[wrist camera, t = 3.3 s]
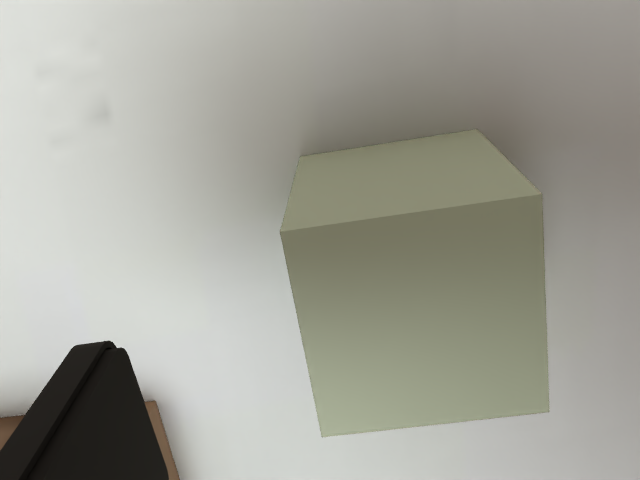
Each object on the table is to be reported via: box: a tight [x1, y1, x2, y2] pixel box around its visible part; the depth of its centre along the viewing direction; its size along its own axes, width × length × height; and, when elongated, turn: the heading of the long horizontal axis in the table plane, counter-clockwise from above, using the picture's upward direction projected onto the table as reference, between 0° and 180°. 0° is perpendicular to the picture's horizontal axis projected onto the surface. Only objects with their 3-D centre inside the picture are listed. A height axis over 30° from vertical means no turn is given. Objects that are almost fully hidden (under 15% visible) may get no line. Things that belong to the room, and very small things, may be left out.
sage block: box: [280, 129, 549, 437], centre depth 15 cm, size 5×5×6 cm
